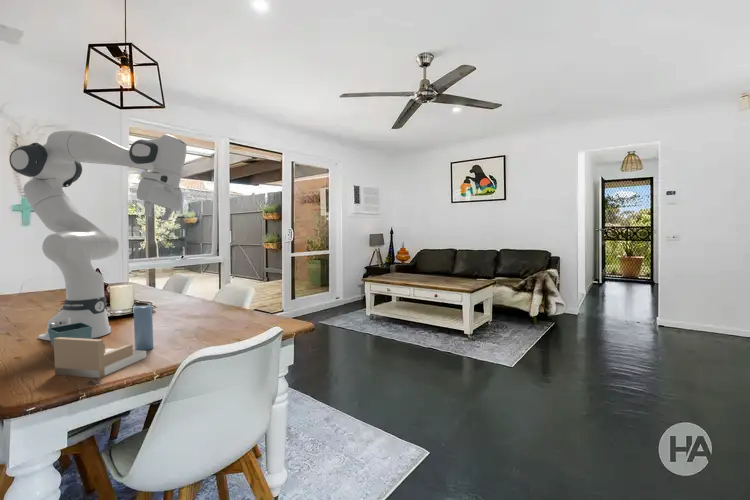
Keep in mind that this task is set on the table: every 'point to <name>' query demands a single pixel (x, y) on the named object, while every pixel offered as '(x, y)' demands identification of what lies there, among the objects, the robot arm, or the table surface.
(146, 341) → the light blue cylinder
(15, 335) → the table surface
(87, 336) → the flower pot
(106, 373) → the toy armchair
